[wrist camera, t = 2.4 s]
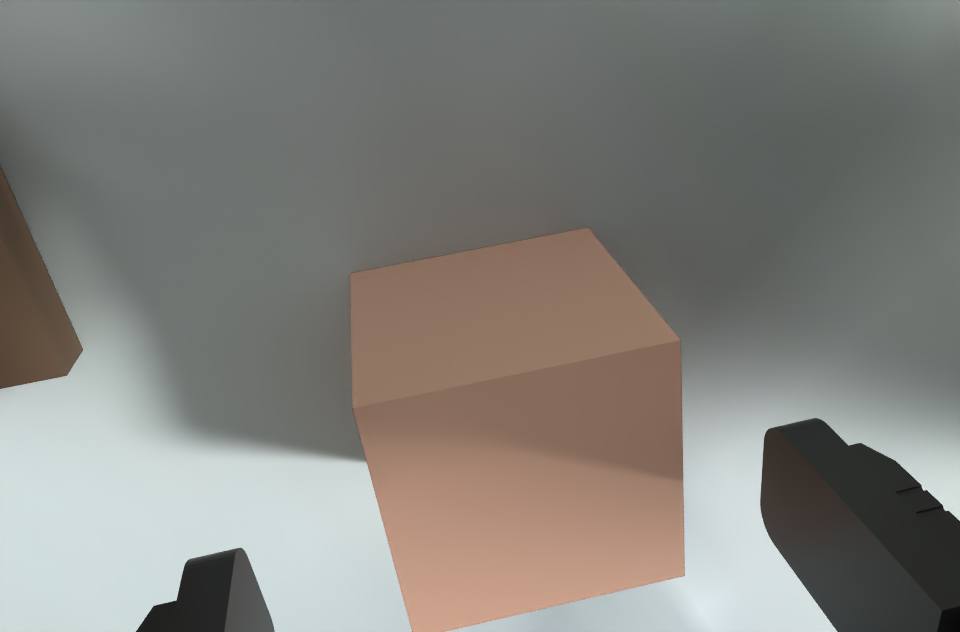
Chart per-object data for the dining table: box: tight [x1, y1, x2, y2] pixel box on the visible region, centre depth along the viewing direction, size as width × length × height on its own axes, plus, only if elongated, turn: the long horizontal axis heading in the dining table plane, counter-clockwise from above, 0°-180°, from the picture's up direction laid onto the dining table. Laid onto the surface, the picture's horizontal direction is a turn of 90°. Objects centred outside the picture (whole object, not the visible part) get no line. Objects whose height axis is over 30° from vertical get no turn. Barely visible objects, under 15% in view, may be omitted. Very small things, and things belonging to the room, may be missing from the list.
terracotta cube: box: [350, 228, 685, 632], centre depth 15 cm, size 5×5×5 cm
